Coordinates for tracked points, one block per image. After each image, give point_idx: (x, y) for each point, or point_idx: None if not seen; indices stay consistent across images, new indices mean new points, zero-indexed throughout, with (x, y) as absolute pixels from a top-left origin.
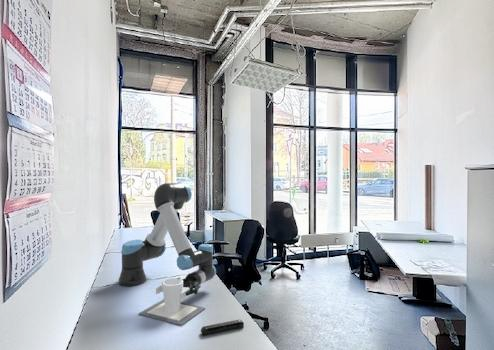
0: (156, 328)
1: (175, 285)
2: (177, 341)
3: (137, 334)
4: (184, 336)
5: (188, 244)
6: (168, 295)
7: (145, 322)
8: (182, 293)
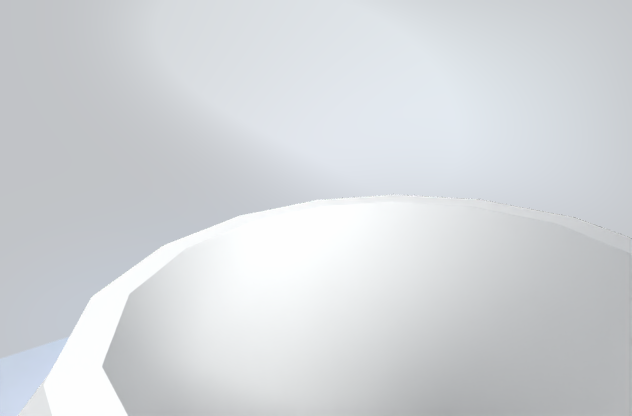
0: None
1: (183, 242)
2: (47, 363)
3: None
4: (8, 410)
5: None
6: (320, 365)
7: None
8: (42, 403)
